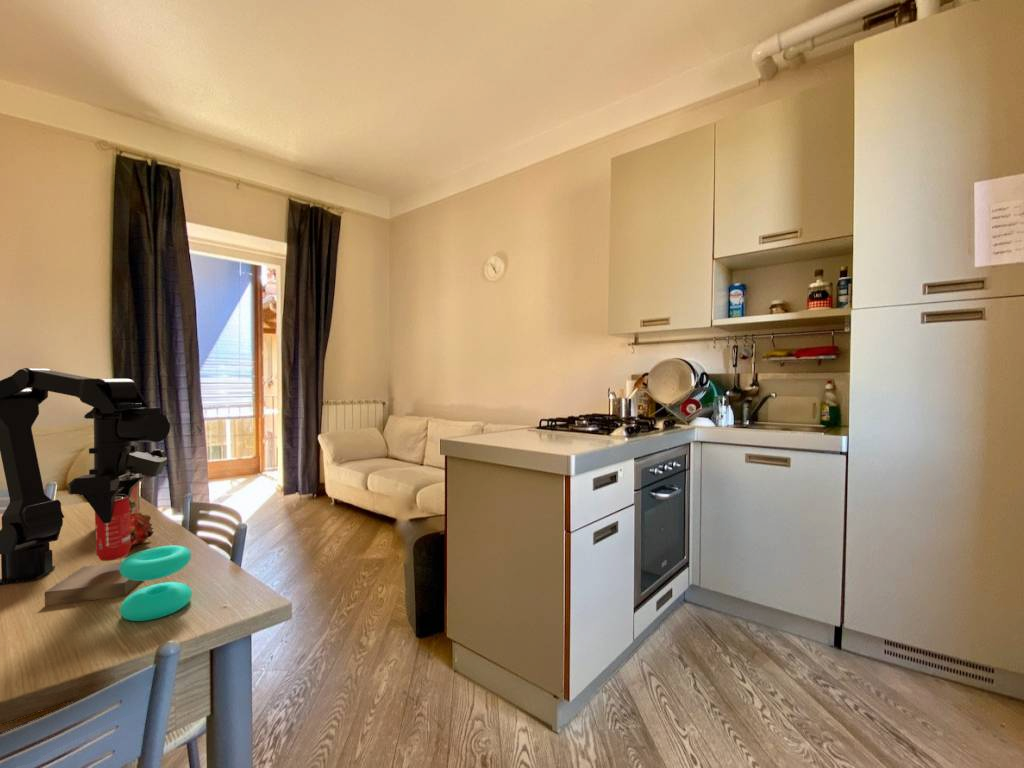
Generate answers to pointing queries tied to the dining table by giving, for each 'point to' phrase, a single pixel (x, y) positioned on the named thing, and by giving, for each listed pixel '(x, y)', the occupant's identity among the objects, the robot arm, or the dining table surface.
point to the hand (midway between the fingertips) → (114, 518)
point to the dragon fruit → (140, 528)
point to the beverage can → (114, 531)
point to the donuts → (157, 596)
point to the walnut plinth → (90, 585)
